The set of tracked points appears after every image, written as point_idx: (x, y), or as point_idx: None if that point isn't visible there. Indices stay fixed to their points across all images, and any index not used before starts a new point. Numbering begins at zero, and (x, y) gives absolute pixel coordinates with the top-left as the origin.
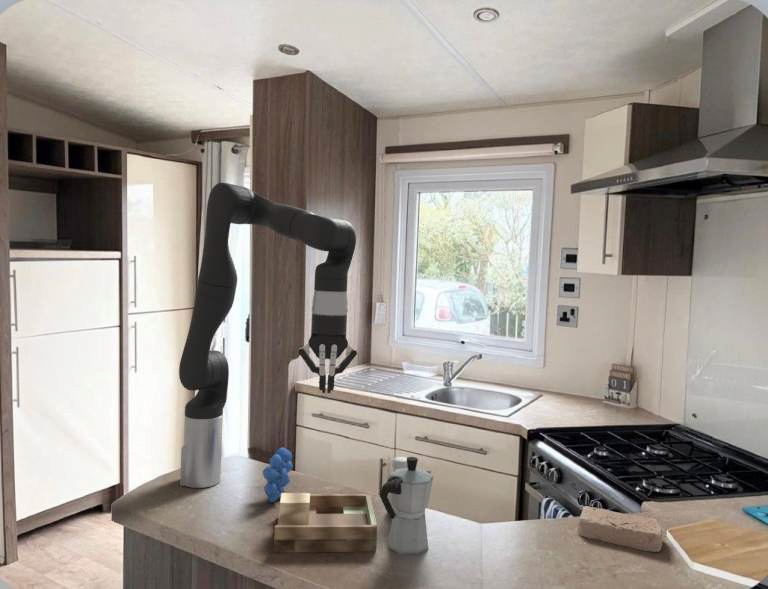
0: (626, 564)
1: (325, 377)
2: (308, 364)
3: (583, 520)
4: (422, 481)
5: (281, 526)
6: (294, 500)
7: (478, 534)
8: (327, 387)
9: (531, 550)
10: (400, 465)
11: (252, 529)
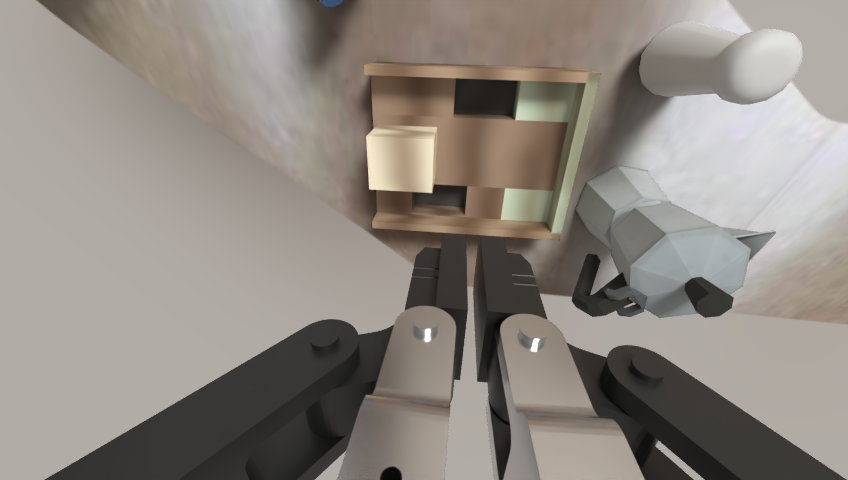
0: None
1: (455, 371)
2: (257, 471)
3: None
4: (691, 313)
5: (383, 226)
6: (398, 179)
7: (787, 174)
8: (476, 291)
9: (840, 238)
10: (734, 101)
11: (331, 124)
